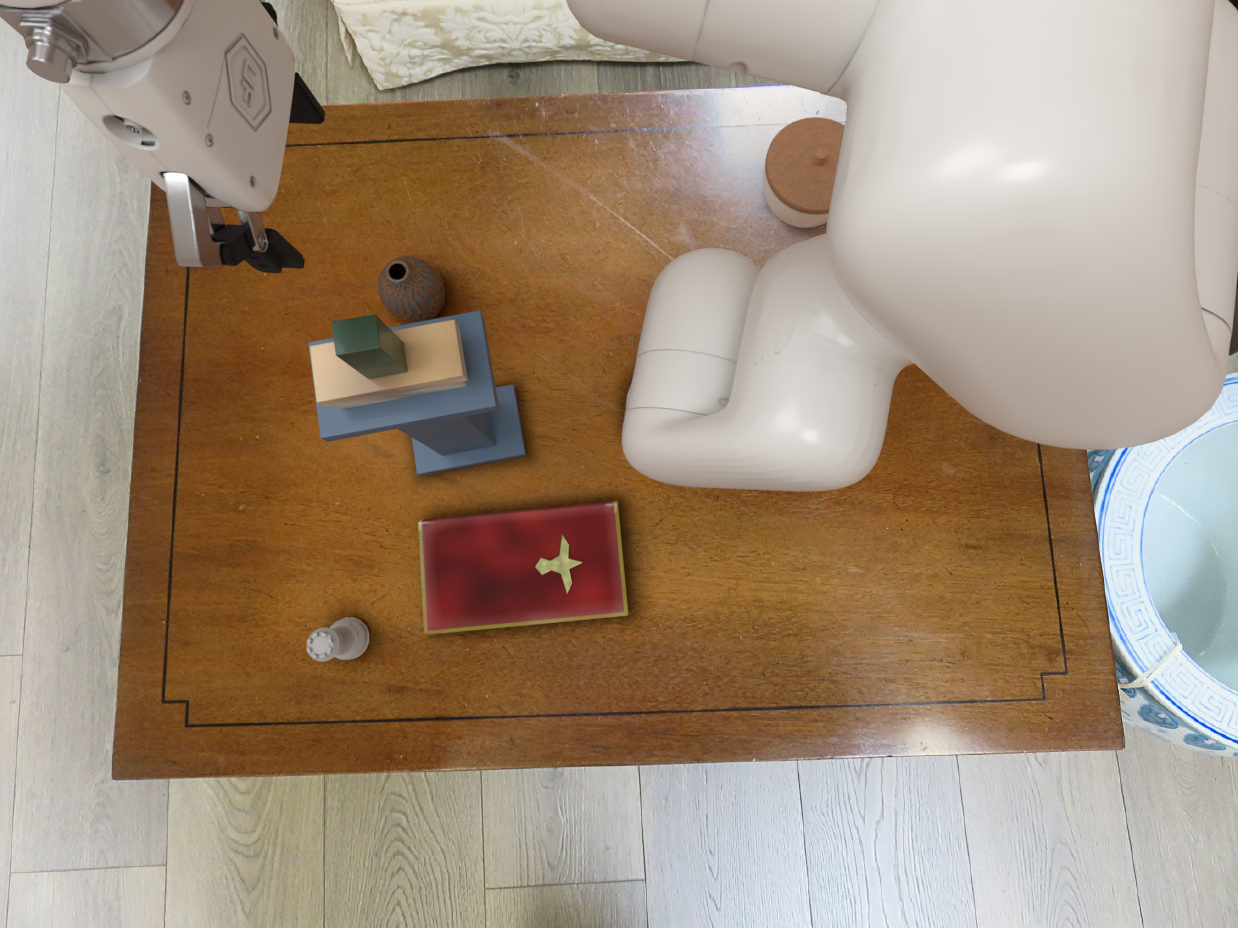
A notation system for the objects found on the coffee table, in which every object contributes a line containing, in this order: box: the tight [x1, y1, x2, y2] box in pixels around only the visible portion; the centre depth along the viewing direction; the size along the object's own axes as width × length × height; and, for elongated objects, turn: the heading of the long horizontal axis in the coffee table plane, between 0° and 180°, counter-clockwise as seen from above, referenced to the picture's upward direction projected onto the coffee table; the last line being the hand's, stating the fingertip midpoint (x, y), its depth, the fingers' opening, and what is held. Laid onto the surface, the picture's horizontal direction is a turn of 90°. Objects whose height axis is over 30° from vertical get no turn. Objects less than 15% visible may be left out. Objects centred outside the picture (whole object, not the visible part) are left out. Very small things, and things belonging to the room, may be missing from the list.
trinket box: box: [762, 116, 845, 229], centre depth 80 cm, size 11×11×9 cm
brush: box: [309, 313, 468, 409], centre depth 53 cm, size 11×4×10 cm, turn 101°
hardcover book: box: [417, 500, 629, 636], centre depth 77 cm, size 12×21×4 cm, turn 95°
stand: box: [307, 310, 528, 477], centre depth 69 cm, size 14×8×24 cm, turn 101°
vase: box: [377, 255, 446, 324], centre depth 79 cm, size 7×7×9 cm
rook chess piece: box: [305, 616, 370, 663], centre depth 74 cm, size 4×4×8 cm
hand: (291, 189), depth 45 cm, fingers open, 9 cm apart
